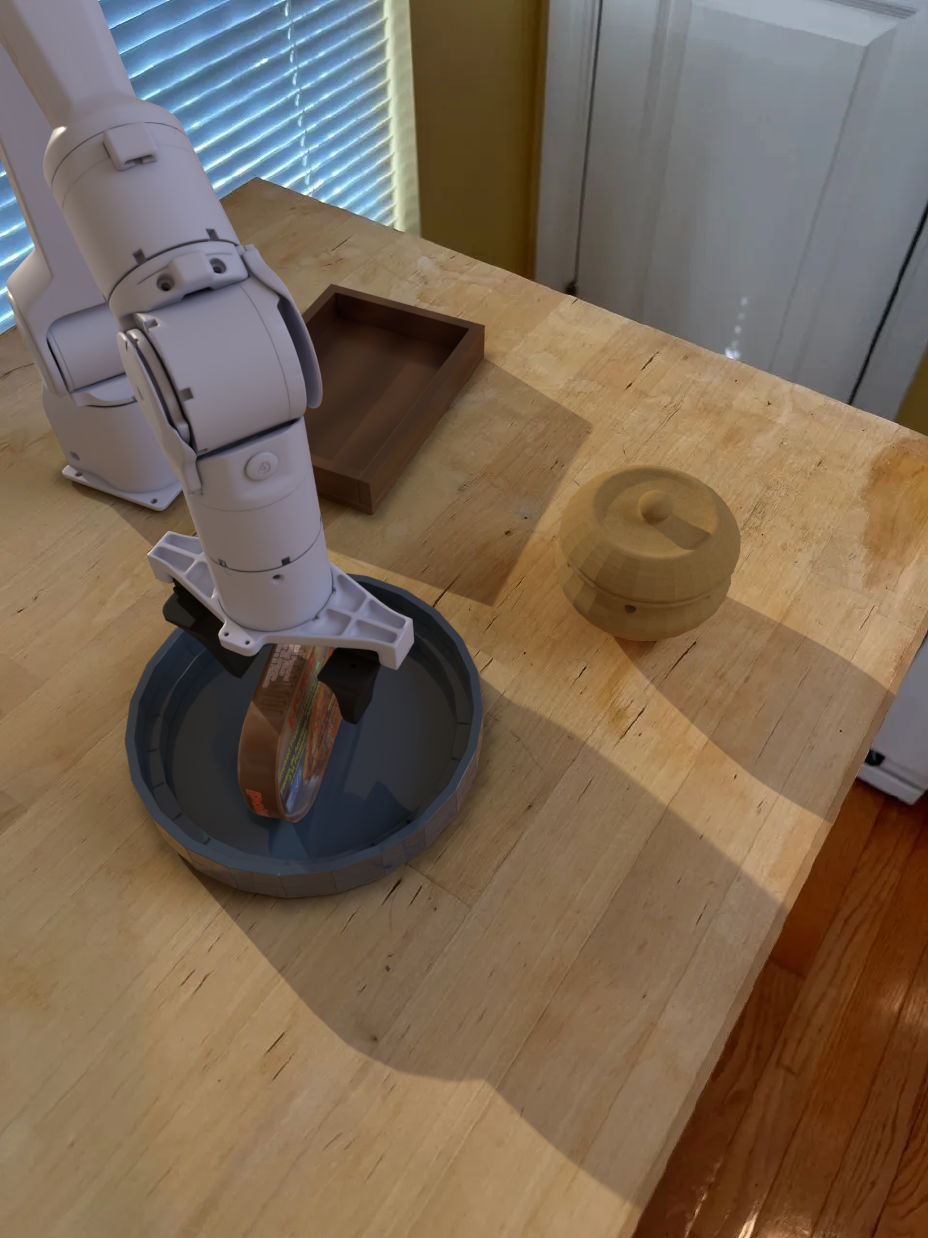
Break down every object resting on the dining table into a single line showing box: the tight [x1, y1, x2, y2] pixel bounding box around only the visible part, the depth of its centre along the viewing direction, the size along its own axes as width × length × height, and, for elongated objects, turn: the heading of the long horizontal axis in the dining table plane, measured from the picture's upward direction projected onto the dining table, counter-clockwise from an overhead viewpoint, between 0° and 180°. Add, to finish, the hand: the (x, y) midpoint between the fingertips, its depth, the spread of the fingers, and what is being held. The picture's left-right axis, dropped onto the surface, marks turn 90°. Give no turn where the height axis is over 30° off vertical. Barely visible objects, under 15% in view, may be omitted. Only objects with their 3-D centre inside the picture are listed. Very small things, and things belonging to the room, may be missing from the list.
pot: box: [554, 464, 742, 642], centre depth 62 cm, size 12×12×10 cm
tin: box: [238, 644, 343, 823], centre depth 56 cm, size 15×3×8 cm, turn 168°
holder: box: [301, 283, 486, 515], centre depth 77 cm, size 15×21×3 cm
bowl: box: [124, 572, 484, 899], centre depth 58 cm, size 21×21×4 cm
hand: (301, 686), depth 55 cm, fingers open, 7 cm apart
